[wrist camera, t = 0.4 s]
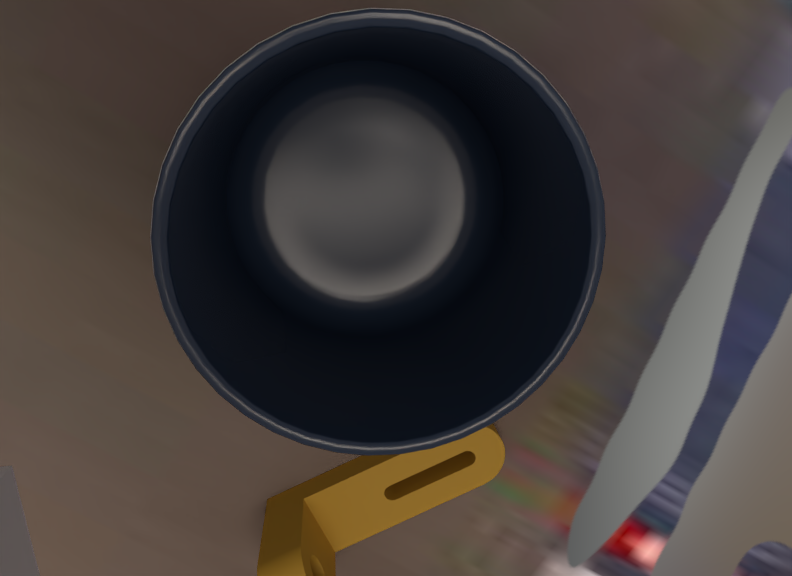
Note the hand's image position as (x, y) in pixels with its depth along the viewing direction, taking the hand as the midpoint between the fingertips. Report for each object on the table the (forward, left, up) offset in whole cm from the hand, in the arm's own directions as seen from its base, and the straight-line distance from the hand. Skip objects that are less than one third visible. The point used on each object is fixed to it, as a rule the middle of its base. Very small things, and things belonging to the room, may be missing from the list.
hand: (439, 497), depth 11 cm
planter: (-1, 0, -27) cm, 27 cm away
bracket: (+17, -1, -27) cm, 32 cm away
